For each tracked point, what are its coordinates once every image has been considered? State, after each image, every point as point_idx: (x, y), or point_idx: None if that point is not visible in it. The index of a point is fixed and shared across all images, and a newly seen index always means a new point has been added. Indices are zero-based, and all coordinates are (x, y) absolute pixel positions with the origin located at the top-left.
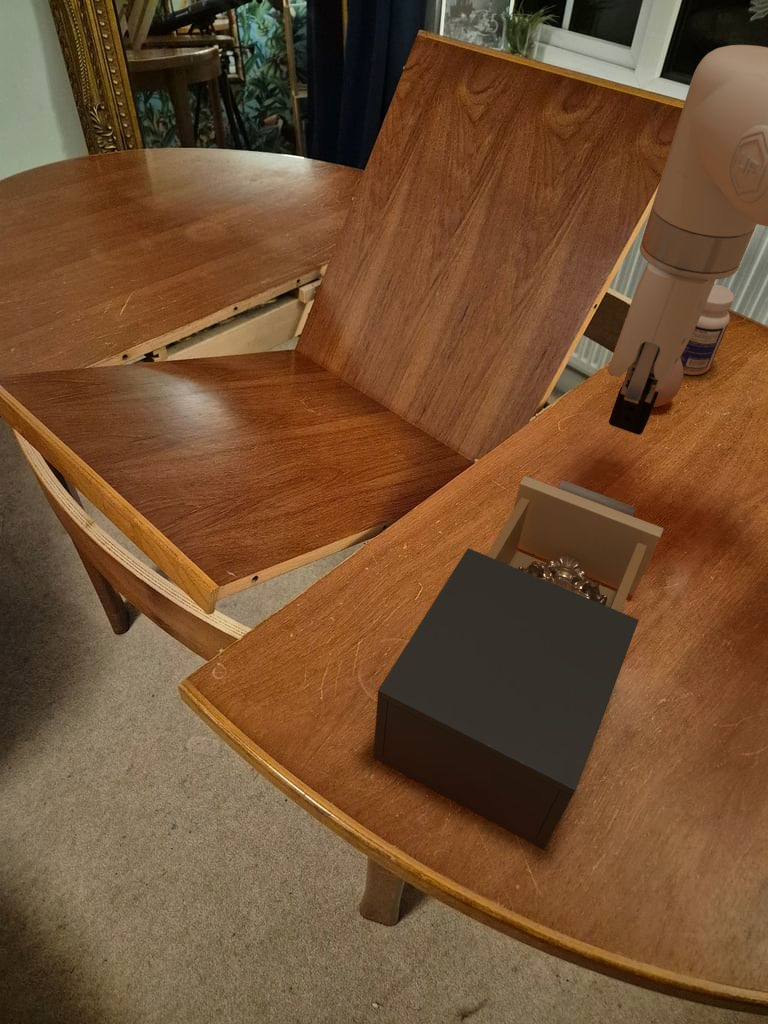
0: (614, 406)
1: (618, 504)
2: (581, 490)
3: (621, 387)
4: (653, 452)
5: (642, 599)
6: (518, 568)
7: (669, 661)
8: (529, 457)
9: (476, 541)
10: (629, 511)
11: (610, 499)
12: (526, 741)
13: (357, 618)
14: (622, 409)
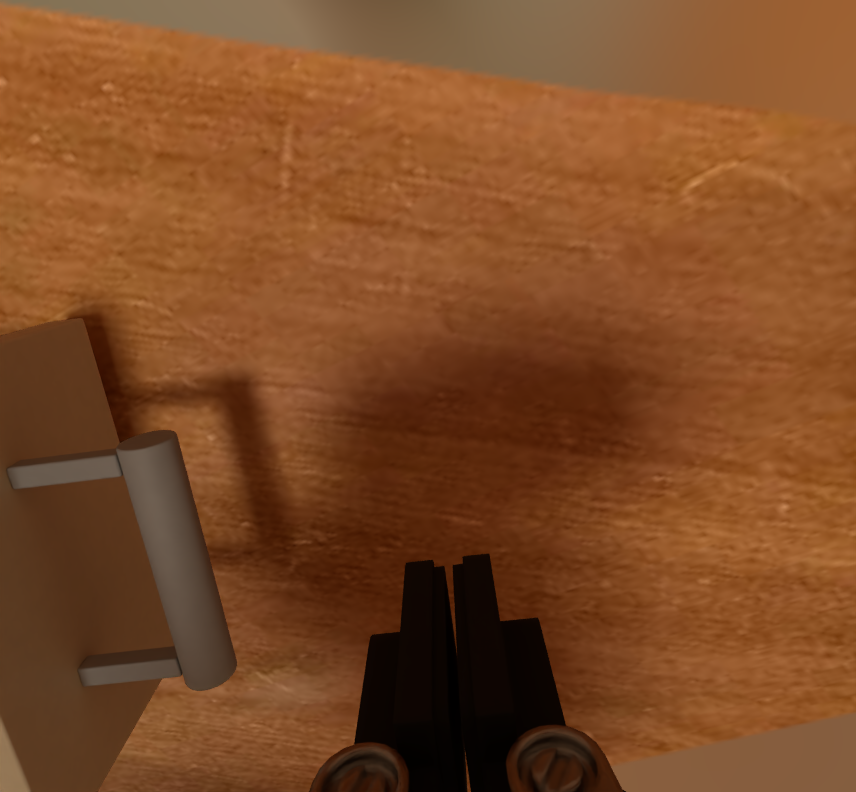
0: (400, 630)
1: (183, 644)
2: (150, 526)
3: (424, 725)
4: (739, 486)
5: None
6: None
7: None
8: (479, 173)
9: (27, 235)
10: (186, 676)
11: (184, 617)
12: None
13: None
14: (362, 698)
